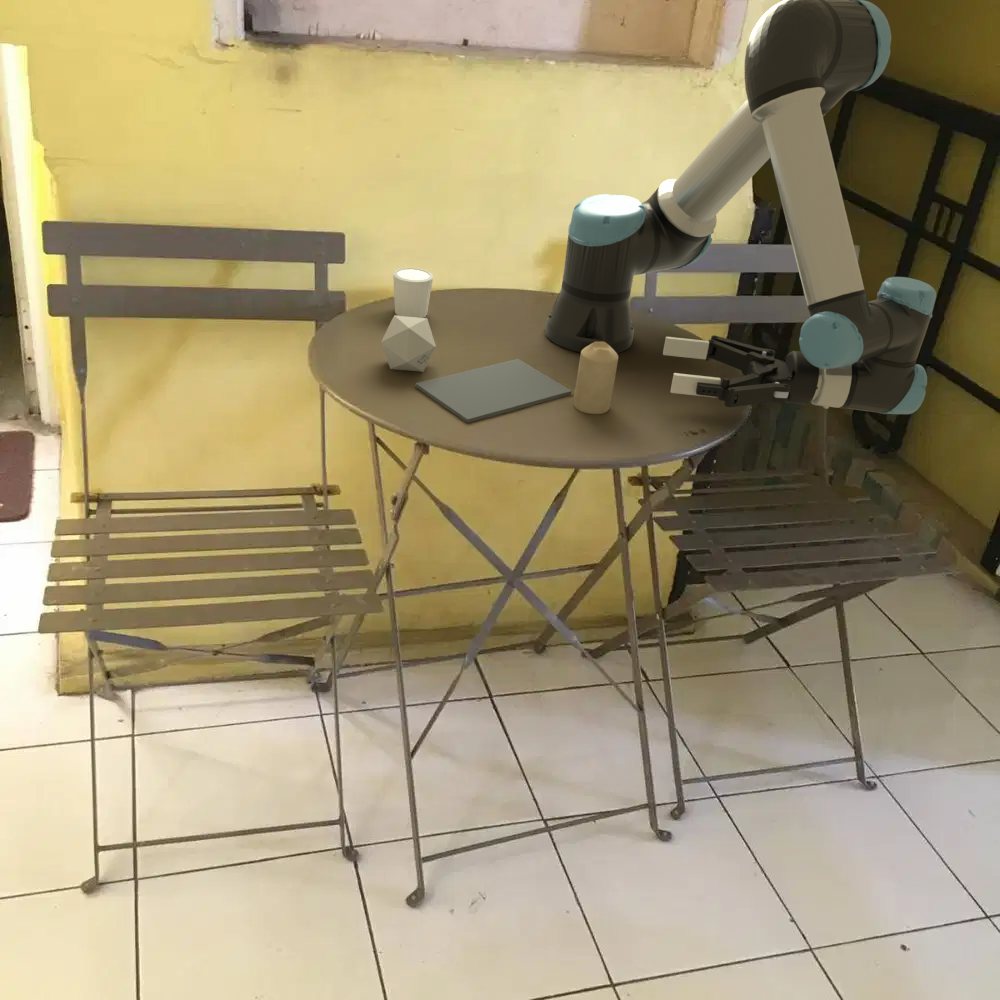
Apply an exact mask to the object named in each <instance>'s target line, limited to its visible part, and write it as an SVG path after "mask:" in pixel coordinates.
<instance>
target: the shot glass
mask: <svg viewBox="0 0 1000 1000" xmlns="http://www.w3.org/2000/svg"><path fill="white" fill-rule="evenodd" d="M392 275H393V278H392V279H393V297H394V313H395V315H396V316H407V317H418V318H426V317H427V316H428V311H429V306H430V300H431V299H430V298H431V292H432V287H433V279H434V274H433V273H432V272H430V271H428V270H426V269H422V268H417V267H403V268H399V269H396V270H394V271H393V274H392ZM426 315H427V316H426Z"/></svg>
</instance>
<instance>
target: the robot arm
mask: <svg viewBox="0 0 1000 1000" xmlns="http://www.w3.org/2000/svg"><path fill="white" fill-rule="evenodd" d="M888 21H889V20H888V18H887V17H886V15H885V13H883V11H882V10H881V8H879V7H878V6H877V5H875V4H874V3H873V2H870V1H868V0H782V1H779V2H777V3H776V4H774V5H772V6H771V7H770V8H769V9H768V10H766V11H765V13H763V15H762V16H761V17H759V20H758V21H757V23H756V24H755V26H754V28H752V32H751V34H750V36H749V39H748V42H747V46H746V50H745V57H744V85H745V92H746V97H747V98H746V100H744V102H743V103H742V104H741V106H739V108H738V109H737V110H736V111H735V112H734V113H733V115H732V116H731V117H730V118H729V119H728V120H727V121H726V122H725V124H724V125H722V127H721V128H720V130H719V131H718V132H717V133H716V134H715V135H714V137H713V138H712V139H711V140H709V142H708V143H707V145H706V146H705V147H704V148H703V149H702V151H700V153H698V155H697V156H696V158H694V160H693V161H692V162H691V163H690V164H689V165H688V167H687V168H685V170H684V172H682V173H681V175H680V176H679V177H678V178H669V179H666V180H664V181H663V182H661V184H660V185H659V187H657V188H656V190H654V192H653V193H652V194H651V195H650V196H649V198H647V199H646V200H645V201H643V202H642V201H640V200H639V199H638V198H635V197H632V196H629V195H625V194H618V193H614V194H609V193H604V194H603V193H602V194H601V193H600V194H596V195H591V196H588V197H584V198H583V199H581V200H580V201H579V202H578V203H576V205H575V206H574V208H573V210H572V214H571V219H570V223H569V226H568V231H567V233H568V234H567V236H568V238H567V245H566V250H565V257H564V258H565V260H564V267H563V273H562V274H563V275H562V282H561V289H560V291H559V294H558V296H557V298H556V299H555V302H554V304H553V307H552V309H551V311H550V312H549V314H548V316H547V318H546V323H545V329H544V330H545V332H544V333H545V336H546V337H547V339H549V340H550V341H551V342H553V344H555V345H557V346H560V347H562V348H564V349H567V350H570V351H574V352H578V353H581V351H582V350H583V349H584V348H585V347H587V346H589V345H590V344H592V343H594V342H606V343H607V344H608V345H609V346H610V347H611V348H612V349H613V350H614V351H615V352H616V353H617V354H618V353H622V352H624V351H627V350H629V349H630V348H631V346H632V345H633V341H634V340H633V339H634V335H635V334H634V333H635V329H634V325H633V323H632V308H631V302H630V301H631V300H630V298H631V292H632V287H633V282H634V277H635V276H638V275H639V276H640V275H643V274H649V273H654V272H660V271H666V270H678V269H682V268H684V267H687V266H690V265H691V264H692V265H693V264H694V263H696V262H697V261H699V260H700V259H701V258H703V256H704V255H705V254H706V253H707V252H708V250H709V249H710V247H711V244H712V241H713V238H712V235H713V234H714V230H715V228H716V227H717V219H718V218H717V214H719V212H720V211H721V210H722V209H723V208H724V207H725V206H726V205H728V203H729V202H730V201H731V199H732V198H733V197H735V196H736V195H737V193H738V192H740V190H742V188H743V187H745V185H746V184H747V183H748V182H749V181H750V180H751V178H753V176H755V174H756V173H757V172H759V170H760V169H761V168H762V167H763V166H764V165H765V164H766V162H768V161H769V160H770V161H771V165H772V170H773V172H774V173H773V174H774V178H775V183H776V185H777V188H778V189H777V191H778V194H779V197H780V201H781V202H780V203H781V205H782V209H783V210H782V211H783V213H784V217H785V221H786V226H787V230H788V233H789V237H790V242H791V246H792V251H793V253H794V257H795V261H796V267H797V270H798V274H799V277H800V281H801V285H802V286H801V287H802V290H803V295H804V298H805V303H806V306H807V310H808V314H809V317H808V318H807V319H806V321H805V322H804V323H803V324H802V326H801V328H800V333H799V334H800V335H799V339H798V343H799V348H800V350H799V351H798V350H792V351H790V352H789V353H788V354H787V355H786V357H785V359H783V360H780V359H776V358H775V354H776V351H775V350H773V349H770V348H769V349H768V348H762V347H759V346H758V347H757V346H755V345H752V344H747V343H743V342H740V341H737V340H733V339H730V338H726V337H722V336H719V335H715V334H714V335H711V336H710V337H711V338H710V339H708V340H702V339H701V340H700V339H693V338H692V339H691V338H683V337H674V336H665V340H664V345H663V350H662V355H663V356H670V357H678V358H681V357H682V358H688V359H689V358H691V359H698V360H704V361H705V362H707V361H710V360H715V361H717V362H720V363H722V364H725V365H727V366H729V367H732V368H735V369H737V370H739V371H741V373H742V375H743V376H739V377H735V378H732V379H729V378H727V377H725V376H723V377H722V380H721V377H714V376H706V375H705V376H704V375H697V374H686V373H679V372H674V373H673V376H672V381H671V386H670V393H671V394H678V395H679V394H680V395H689V396H696V397H697V396H698V397H705V398H706V397H707V398H708V397H709V398H717V400H720V401H722V402H724V406H725V407H727V408H735V407H743V406H752V405H760V404H769V403H778V404H785V403H789V404H798V405H808V404H809V403H811V404H812V405H813V406H820V407H822V408H824V409H825V410H827V409H828V410H829V408H830V407H831V408H836V409H837V408H840V409H850V410H857V411H864V412H872V413H878V414H879V413H880V414H883V415H888V414H890V415H912V414H913V413H915V412H916V411H918V410H919V408H920V407H921V406H922V405H923V401H924V400H925V397H926V394H927V393H926V387H927V385H928V375H927V372H926V369H925V367H923V365H922V364H917V359H918V356H919V353H920V352H921V351H920V350H921V347H922V344H923V342H924V339H925V337H926V333H927V330H928V327H929V325H930V322H931V319H932V318H933V311H934V307H935V304H936V299H937V292H936V289H935V288H934V287H933V286H932V285H930V284H929V283H927V282H924V281H922V280H919V279H915V278H911V277H906V276H891V277H887V278H886V279H884V281H882V283H881V286H880V287H879V290H878V292H877V294H876V295H877V297H876V299H874V300H870V301H868V298H867V294H866V291H865V286H864V283H863V278H862V274H861V270H860V265H859V262H858V258H857V257H858V256H857V252H856V248H855V246H854V240H853V236H852V233H851V228H850V223H849V220H848V215H847V211H846V207H845V203H844V199H843V195H842V190H841V187H840V182H839V178H838V173H837V170H836V167H835V162H834V158H833V153H832V149H831V145H830V141H829V136H828V133H827V129H826V124H825V121H824V116H825V115H827V114H828V113H829V112H830V111H831V110H832V109H833V108H834V107H835V106H836V105H837V103H839V101H841V99H842V98H843V97H845V95H846V94H847V93H849V92H857V91H860V90H863V89H864V88H867V87H868V86H870V85H872V84H873V83H874V82H876V80H878V79H879V77H881V75H882V74H883V72H884V70H885V69H886V67H887V65H888V62H889V58H890V57H891V42H892V33H891V28H890V24H889V22H888Z"/></svg>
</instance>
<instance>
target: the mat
mask: <svg viewBox="0 0 1000 1000" xmlns="http://www.w3.org/2000/svg"><path fill="white" fill-rule="evenodd" d="M415 388H417V389H418V390H419V391H421V392H422V393H423V394H425V395H426V396H427V397H428V398H431V399H432V400H433V401H435V402H436V403H438V404H439V405H441V406H442V407H443V408H445V409H446V410H448V411H449V412H451V413H452V414H454V416H456V417H458V418H459V419H461V420H463V421H464V422H465V423H467V424H469V423H473V422H475V421H480V420H485V419H487V418H490V417H496V416H498V415H501V414H502V415H503V414H505V413H509V412H512V411H516V410H519V409H523V408H527V407H531V406H534V405H538V404H542V403H544V402H548V401H553V400H556V399H559V398H563V397H566V396H570V395H572V392H573V390H571V389H569V388H568V387H566V386H565V385H563V384H561V383H560V382H558V381H556V380H555V379H553V378H551V377H550V376H548V375H546V374H545V373H543V372H541V371H540V370H538V369H536V368H535V367H533V366H531V365H529V364H528V363H526V362H524V361H523V360H521V359H520V358H515V359H511V360H507V361H502V362H499V363H494V364H490V365H486V366H481V367H477V368H473V369H469V370H464V371H461V372H457V373H452V374H448V375H447V374H446V375H444V376H439V377H435V378H431V379H428V380H423V381H419V382H418V381H417V382H416V383H415Z"/></svg>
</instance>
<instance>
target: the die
mask: <svg viewBox="0 0 1000 1000" xmlns="http://www.w3.org/2000/svg"><path fill="white" fill-rule="evenodd" d="M380 343H381V346H382V350H383V352H384V355H385V357H386V360H387V364H388V366H389V368H390V370H394V371H395V370H398V371H405V372H406V371H409V372H410V371H411V372H418V373H419V372H420V373H424V371H425V369H426V367H427V365H428V364H429V361H430V359H431V356H432V355H433V353H434V351H435V349H436V342H435V339H434V336H433V333H432V330H431V326H430V323H429V319H428V318H427V317H424V318H418V317H407V316H398V315H396V314H395V315H393V317H392V319H391V321H390V323H389V325H388V327H387V329H386V331H385V333H384V335H383V337H382V340H380Z"/></svg>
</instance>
